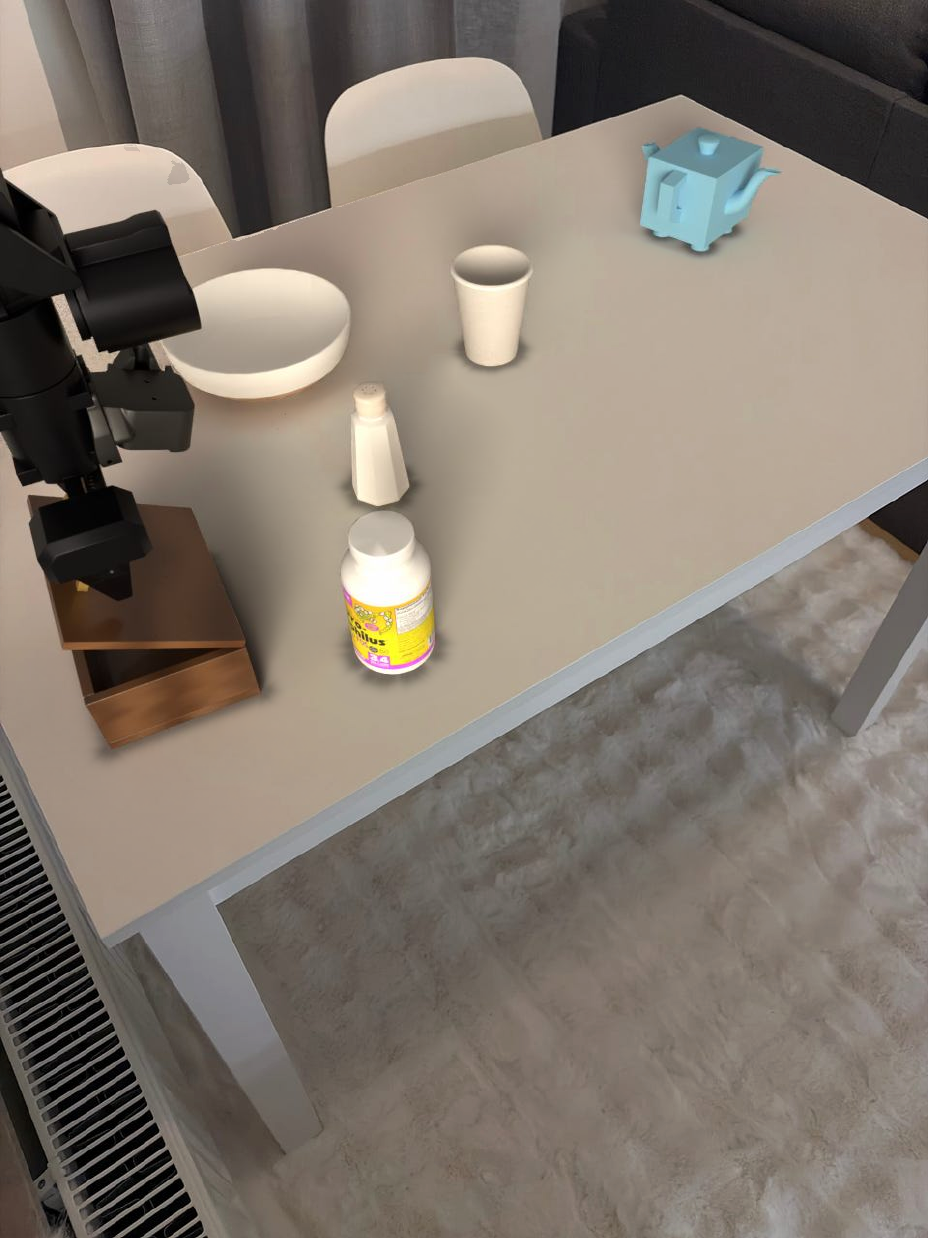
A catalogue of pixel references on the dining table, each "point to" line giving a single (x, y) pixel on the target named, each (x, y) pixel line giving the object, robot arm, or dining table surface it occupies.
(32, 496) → the lid
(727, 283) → the dining table surface
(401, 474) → the salt shaker
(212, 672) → the chest
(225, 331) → the bowl
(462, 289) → the dixie cup
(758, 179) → the teapot
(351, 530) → the supplement bottle
